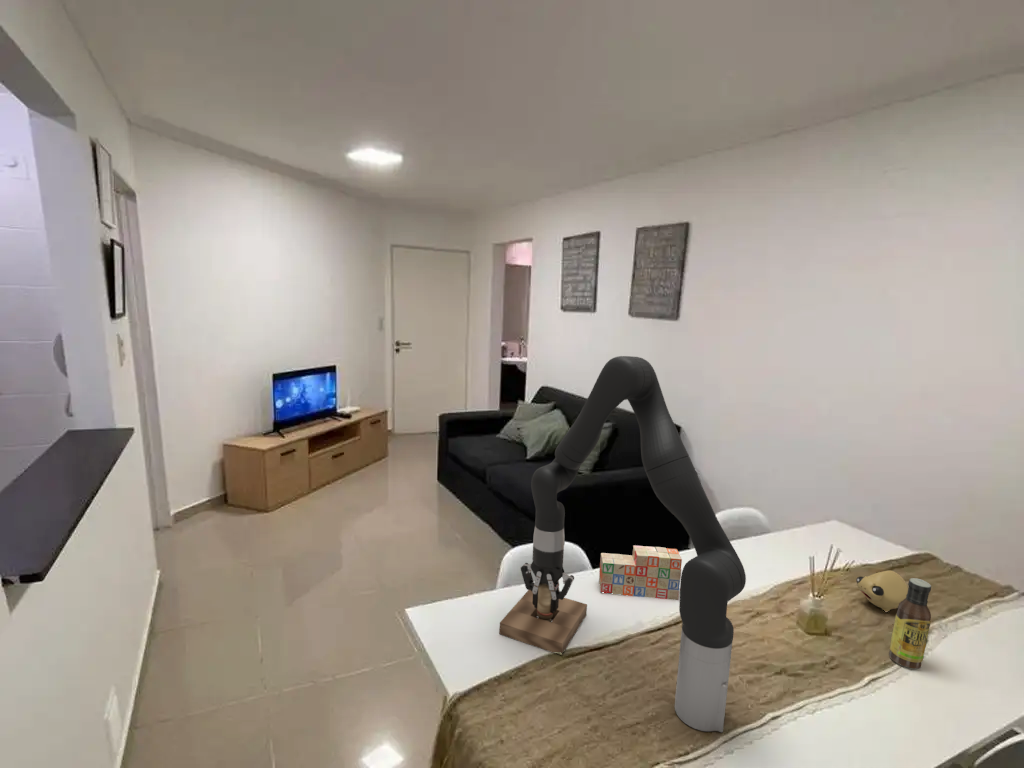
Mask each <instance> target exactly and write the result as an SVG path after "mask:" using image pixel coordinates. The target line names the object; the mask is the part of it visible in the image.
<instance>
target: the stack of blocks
mask: <svg viewBox="0 0 1024 768" xmlns="http://www.w3.org/2000/svg"><path fill="white" fill-rule="evenodd" d="M632 547H633V549H632V555H631V554H630V555H629V554H622V553H621V554H620V553H608V552H607V553H606V552H601V553H600V559H599V560H600V562H599V572H598V573H599V574H598V584H600V585H599V590H600V591H601V592H604V593H603V594H607V593H613V594H612V595H616V594H621V595H620V596H626V595H628V596H629V597H639V598H649V599H651V598H653V599H661V600H673V601H678V600H679V596H680V582H681V575H682V563H683V559H682V556H681V554H680V552H679V551H678V549H677V548H668V547H667V548H666V547H661V546H647V545H646V546H643V545H632ZM600 591H599V592H600ZM601 592H600V593H601Z"/></svg>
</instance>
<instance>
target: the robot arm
mask: <svg viewBox="0 0 1024 768" xmlns="http://www.w3.org/2000/svg"><path fill="white" fill-rule="evenodd" d="M624 401H628V403H629V405H630V407H631V409H632V410H633V413H634V415H635V417H636V420H637V423H638V428H639V433H640V435H639V436H640V454H641V462H642V466H643V469H644V472H645V473H646V476H647V478H648V481H649V483H650V485H651V489H652V491H653V493H654V494H655V496H656V498H657V499H658V501H660V502H661V504H663V506H664V507H665V508H666V510H667V511H669V512H670V513H671V514H672V515H674V517H675V518H676V519H677V520H678V521H679V522H680V523H681V525H682V526H683V528H684V530H685V531H686V532H687V534H688V536H689V538H690V540H691V543H692V545H693V547H694V550H695V552H696V556H695V557H692V558H691V559H690V560H689V559H688V561H687V562H686V563H685V564H684V566H683V569H682V570H681V579H680V585H679V606H678V607H679V608H678V609H679V616H680V619H681V632H680V633H681V634H680V643H679V655H678V665H677V667H678V668H677V677H676V687H675V688H676V689H675V695H674V697H675V698H674V712H675V713H676V715H677V717H678V718H679V719H680V720H681V721H682V722H683V723H684V724H685V725H687V726H689V727H690V728H692V729H694V730H698V731H701V732H719V733H723V732H724V725H725V717H726V716H725V714H726V708H727V707H726V706H727V696H728V687H729V678H730V668H731V659H732V650H733V649H732V648H733V641H734V632H735V629H734V628H735V627H734V625H733V623H732V621H731V620H730V619H729V618H728V617H727V614H728V613H727V611H728V603H729V602H730V601H731V600H732V599H734V598H735V597H736V596H738V595H739V594H741V592H742V591H743V590H744V588H745V587H746V584H747V583H746V581H747V575H746V572H745V568H744V565H743V563H742V561H741V559H740V557H739V555H738V553H737V552H736V550H735V548H734V547H733V545H732V543H731V541H730V539H729V538H728V536H727V534H726V532H725V530H724V529H723V527H722V525H721V524H720V521H719V520H718V518H717V515H716V513H715V511H714V508H713V506H712V504H711V503H710V499H709V498H708V496H707V494H706V491H705V489H704V487H703V486H702V483H701V480H700V478H699V475H698V473H697V471H696V468H695V466H694V464H693V461H692V460H691V457H690V455H689V453H688V451H687V449H686V447H685V445H684V443H683V440H682V438H681V436H680V433H679V432H678V429H677V427H676V425H675V423H674V420H673V417H672V416H671V414H670V412H669V409H668V406H667V403H666V401H665V397H664V395H663V391H662V389H661V385H660V383H659V379H658V375H657V373H656V371H655V369H654V367H653V365H651V363H650V362H649V361H648V360H646V359H645V358H642V357H640V356H628V355H620V356H615V357H612V358H611V359H609V360H608V361H607V362H606V363H605V364H604V365H603V368H602V369H601V371H600V373H599V375H598V377H597V379H596V381H595V383H594V384H593V387H592V389H591V390H590V394H589V395H588V397H587V398H586V401H585V402H584V404H583V407H582V408H581V410H580V413H579V414H578V416H576V417H577V418H576V419H575V420H574V422H573V424H572V425H571V426H570V428H569V429H568V431H567V432H566V434H565V435H564V436H563V438H562V439H561V440H560V442H559V443H558V444H557V447H556V448H555V451H554V456H555V457H554V459H553V460H552V462H550V463H548V464H545V465H543V466H541V467H538V468H537V469H536V470H535V471H534V472H533V474H532V476H531V480H530V481H531V482H530V484H531V485H530V487H531V493H532V497H533V498H532V499H533V502H534V507H535V519H534V520H535V521H534V531H533V537H532V538H533V539H532V540H533V541H532V542H533V543H532V562H531V563H528V562H525V563H524V564H523V565H522V566H521V567H520V571H521V572H520V573H521V575H522V578H523V579H522V580H523V582H524V587H525V589H526V590H527V591H528V590H531V591H532V593H533V602H532V603H533V605H534V608H537V603H538V587H539V585H540V584H541V583H545V584H547V585H549V589H550V591H551V595H552V599H551V609H550V612H551V613H554V612H556V610H557V609H558V606H559V599H561V600H563V599H564V598H566V596H567V594H568V592H569V590H570V589H571V586H572V585H573V582H574V580H575V576H574V575H573V574H570V575H569V574H568V573H566V572H565V569H564V551H565V517H566V515H565V514H566V512H565V511H566V510H565V506H564V504H563V503H562V502H560V501H558V500H557V499H558V498H557V495H558V493H560V492H562V491H564V490H566V489H567V488H568V487H569V486H570V485H571V484H572V482H573V481H574V480H575V478H576V476H577V474H578V472H579V470H580V468H581V466H582V464H584V462H585V461H586V460H587V458H588V457H589V456H590V454H591V453H592V452H593V450H594V449H595V448H596V446H597V444H598V443H599V440H600V438H601V434H602V432H603V428H604V425H605V423H606V421H607V419H608V418H609V416H610V415H611V414H612V412H613V411H614V410H615V409H616V408H618V407H619V405H620V404H621V403H622V402H624ZM532 573H533V574H532ZM533 575H534V577H535V579H533ZM561 578H562V582H563V583H562V584H563V586H562V589H561V590H560V579H561Z"/></svg>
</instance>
